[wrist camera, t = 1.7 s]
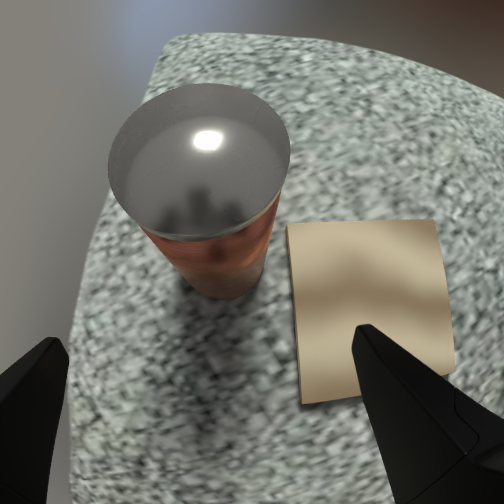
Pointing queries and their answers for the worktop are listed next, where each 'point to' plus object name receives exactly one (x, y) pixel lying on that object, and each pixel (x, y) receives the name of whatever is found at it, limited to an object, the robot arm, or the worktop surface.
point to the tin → (204, 182)
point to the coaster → (365, 298)
